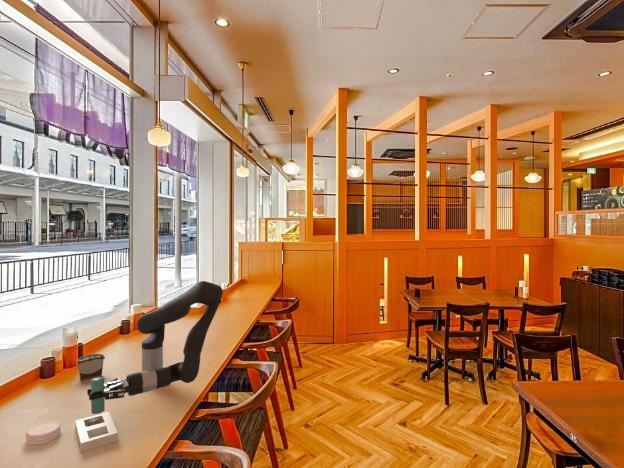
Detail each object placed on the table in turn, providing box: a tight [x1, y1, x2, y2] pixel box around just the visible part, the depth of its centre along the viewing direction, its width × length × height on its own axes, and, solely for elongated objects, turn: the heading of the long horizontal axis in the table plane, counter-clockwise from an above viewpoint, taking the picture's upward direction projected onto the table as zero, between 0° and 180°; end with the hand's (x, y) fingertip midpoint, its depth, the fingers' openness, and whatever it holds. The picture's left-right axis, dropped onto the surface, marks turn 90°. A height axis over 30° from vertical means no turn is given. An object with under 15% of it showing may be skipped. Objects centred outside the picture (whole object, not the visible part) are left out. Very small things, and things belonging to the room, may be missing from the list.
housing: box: [74, 411, 119, 453], centre depth 136 cm, size 18×11×3 cm, turn 37°
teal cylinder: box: [90, 376, 106, 415], centre depth 132 cm, size 4×4×11 cm
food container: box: [76, 353, 106, 382], centre depth 188 cm, size 12×6×10 cm, turn 134°
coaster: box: [25, 420, 62, 446], centre depth 134 cm, size 10×10×4 cm
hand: (88, 394), depth 130 cm, fingers closed on teal cylinder, 4 cm apart
